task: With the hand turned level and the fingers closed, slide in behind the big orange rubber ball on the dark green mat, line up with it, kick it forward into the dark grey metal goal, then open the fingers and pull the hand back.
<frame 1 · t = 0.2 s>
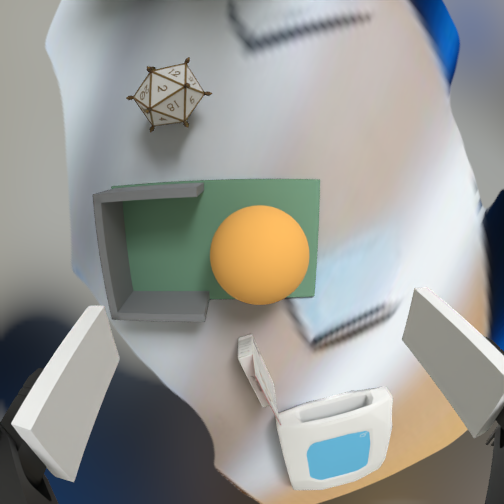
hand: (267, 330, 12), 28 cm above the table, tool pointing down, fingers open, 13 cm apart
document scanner: (332, 436, 53), on the table
game die: (176, 101, 34), on the table
pitch: (214, 241, 39), on the table
ink cartridge box: (257, 361, 46), on the table
ball: (259, 255, 34), point 6 cm above the table, touching pitch
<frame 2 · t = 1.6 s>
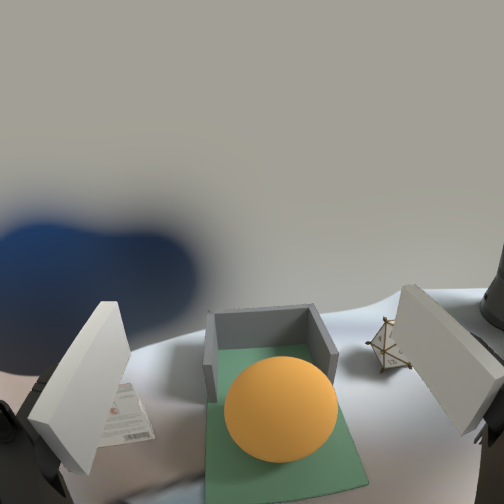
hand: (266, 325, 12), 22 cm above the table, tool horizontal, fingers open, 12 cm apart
game die: (391, 365, 39), on the table
pitch: (272, 407, 34), on the table
ink cartridge box: (111, 440, 27), on the table
ball: (281, 410, 26), point 6 cm above the table, touching pitch
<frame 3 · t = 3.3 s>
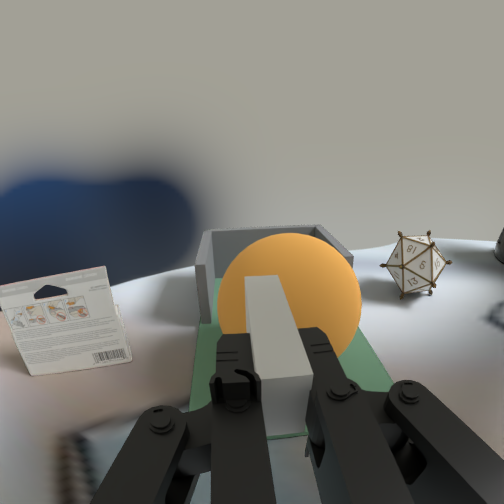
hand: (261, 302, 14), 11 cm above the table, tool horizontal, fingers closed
game die: (410, 293, 35), on the table
pitch: (278, 328, 30), on the table
ink cartridge box: (80, 366, 24), on the table
ball: (289, 305, 23), point 6 cm above the table, touching pitch
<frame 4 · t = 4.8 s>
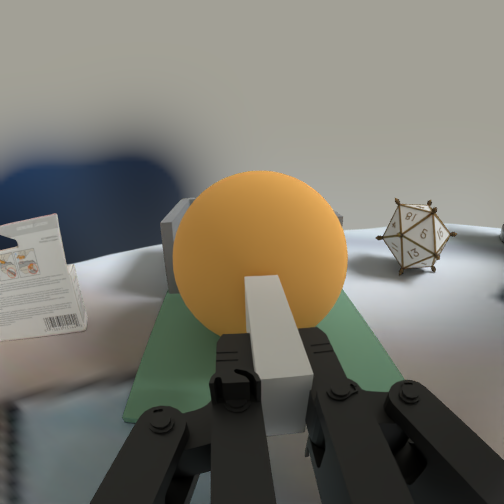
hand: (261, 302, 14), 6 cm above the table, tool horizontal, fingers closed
game die: (411, 270, 32), on the table
pitch: (255, 300, 26), on the table
ink cartridge box: (33, 334, 20), on the table
ball: (260, 258, 19), point 6 cm above the table, touching gripper, pitch
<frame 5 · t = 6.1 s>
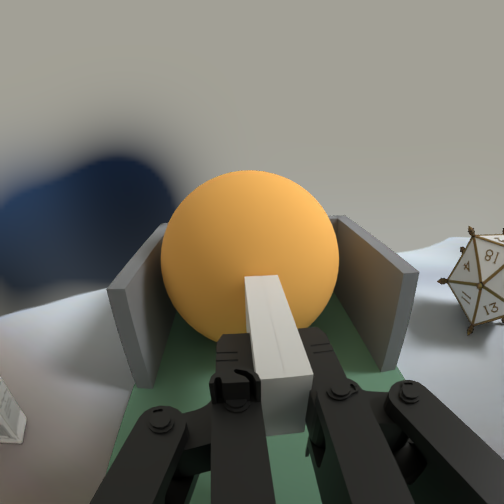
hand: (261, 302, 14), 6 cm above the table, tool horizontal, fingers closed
game die: (477, 322, 20), on the table
pitch: (271, 404, 15), on the table
ball: (249, 259, 19), point 6 cm above the table, tilted 111°, touching gripper, pitch
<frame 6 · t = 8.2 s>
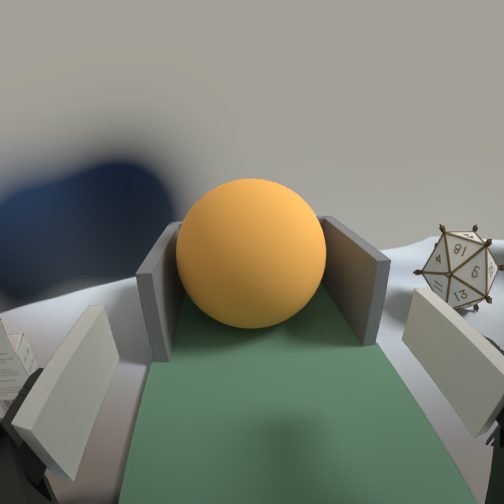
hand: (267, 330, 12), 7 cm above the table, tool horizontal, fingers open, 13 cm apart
game die: (451, 309, 24), on the table
pitch: (271, 372, 19), on the table
ball: (251, 253, 23), point 6 cm above the table, tilted 113°, touching pitch
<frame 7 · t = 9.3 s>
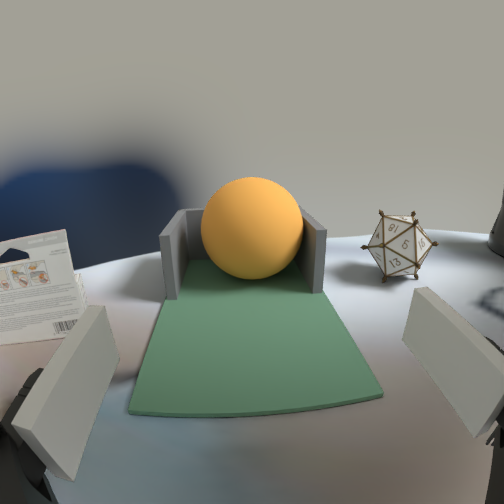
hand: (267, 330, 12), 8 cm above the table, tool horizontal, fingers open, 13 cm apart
game die: (394, 277, 34), on the table
pitch: (246, 306, 29), on the table
ink cartridge box: (43, 337, 22), on the table
ball: (252, 228, 33), point 6 cm above the table, tilted 110°, touching pitch
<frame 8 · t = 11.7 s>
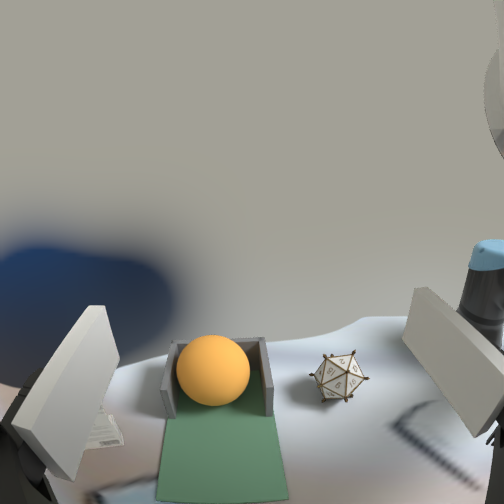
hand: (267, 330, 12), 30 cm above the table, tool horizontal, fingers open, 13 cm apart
game die: (334, 394, 44), on the table
pitch: (220, 425, 39), on the table
ink cartridge box: (91, 445, 32), on the table
ball: (213, 370, 43), point 6 cm above the table, tilted 113°, touching pitch
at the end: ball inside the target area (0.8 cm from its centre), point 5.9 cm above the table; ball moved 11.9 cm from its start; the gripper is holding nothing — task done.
